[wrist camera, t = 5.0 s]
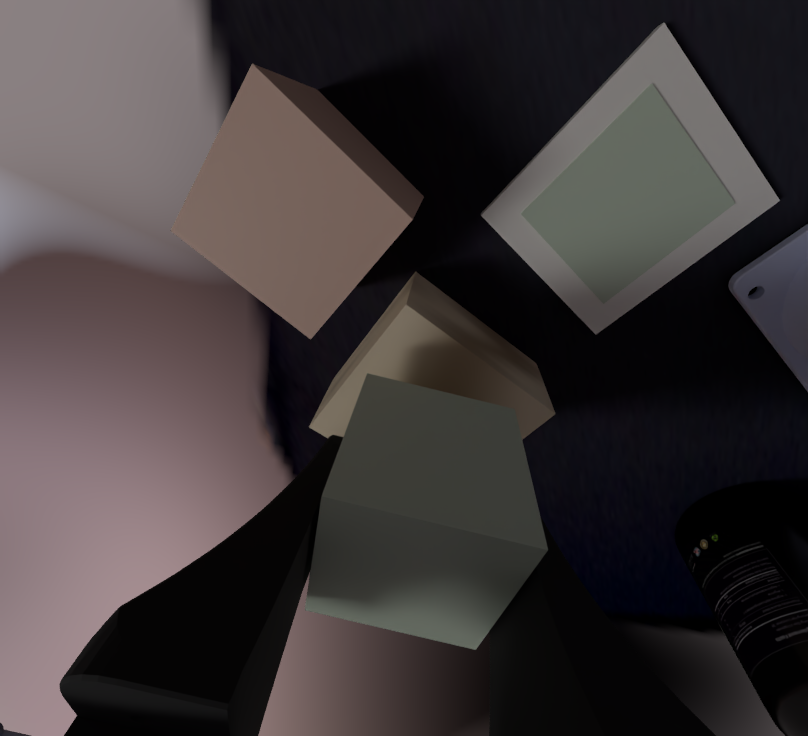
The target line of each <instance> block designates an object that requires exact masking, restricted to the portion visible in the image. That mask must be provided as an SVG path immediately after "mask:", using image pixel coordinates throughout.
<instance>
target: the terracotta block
mask: <svg viewBox="0 0 808 736" xmlns="http://www.w3.org/2000/svg"><path fill="white" fill-rule="evenodd" d="M423 198H424V196H423V195H422V194H421V193H420V192H419V191H418V190H417V189H416V188H415V187H414V186H413V185H412V184H411V183H410V182H409V181H408V180H407V179H406V178H405V177H404V176H403V175H402V174H401V173H400V172H399V171H398V170H397V169H396V168H395V167H394V166H393V165H392V164H391V163H390V162H389V161H388V160H387V159H386V158H385V157H384V156H383V155H382V154H381V153H380V152H379V151H378V150H377V149H376V148H375V147H374V146H373V145H372V144H371V143H370V142H369V141H368V140H367V139H366V138H365V137H364V136H363V135H362V134H361V133H360V132H359V131H358V130H357V129H356V128H355V127H354V126H353V125H352V124H351V123H350V122H349V121H348V120H347V119H346V118H345V117H344V116H343V115H342V114H341V113H340V112H339V111H338V110H337V109H336V108H335V107H334V106H333V105H332V104H331V103H330V102H329V101H328V100H327V99H326V98H325V97H324V96H323V95H322V94H321V93H320V92H319V91H318V90H317V89H314V88H312V87H309V86H307V85H304V84H302V83H299V82H297V81H294V80H292V79H289V78H287V77H284V76H282V75H279V74H277V73H274V72H272V71H269V70H267V69H264V68H262V67H259V66H257V65H254V64H252V65H251V67H250V69H249V71H248V73H247V75H246V77H245V80H244V82H243V84H242V86H241V88H240V90H239V92H238V94H237V96H236V98H235V100H234V102H233V104H232V106H231V108H230V110H229V112H228V114H227V116H226V118H225V120H224V122H223V125H222V127H221V129H220V131H219V133H218V135H217V137H216V139H215V141H214V143H213V145H212V147H211V149H210V151H209V153H208V155H207V157H206V160H205V161H204V163H203V166H202V168H201V170H200V172H199V174H198V176H197V178H196V180H195V182H194V184H193V186H192V188H191V190H190V192H189V194H188V196H187V198H186V200H185V203H184V205H183V207H182V209H181V210H180V212H179V214H178V217H177V219H176V221H175V223H174V225H173V227H172V229H171V232H173V233H174V234H175V235H176V236H178V237H179V238H180V239H182V240H183V241H184V242H185V243H187V244H188V245H189V246H191V247H192V248H193V249H195V250H196V251H197V252H198V253H200V254H201V255H202V256H203V257H205V258H206V259H207V260H209V261H210V262H211V263H213V264H214V265H215V266H216V267H218V268H219V269H220V270H222V271H223V272H224V273H225V274H227V275H229V277H231V278H232V279H233V280H235V281H236V282H237V283H238V284H240V285H241V286H242V287H244V288H245V289H246V290H247V291H249V292H250V293H251V294H253V295H254V296H255V297H257V298H258V299H259V300H260V301H262V302H263V303H264V304H266V305H267V306H268V307H269V308H271V309H272V310H273V311H275V312H276V313H277V314H278V315H280V316H281V317H282V318H284V319H285V320H286V321H288V322H289V323H290V324H291V325H293V326H294V327H295V328H297V329H298V330H299V331H300V332H302V333H303V334H304V335H306V336H307V337H308V338H310V339H311V338H312V337H313V336H314V335H315V334H316V332H317V331H318V330H319V329H320V328H321V326H322V325H323V324H324V323H325V322H326V321H327V319H328V318H329V317H330V316H331V315H332V314H333V312H334V311H335V310H336V309H337V308H338V307H339V305H340V304H341V303H342V302H343V301H344V300H345V298H346V297H347V296H348V295H349V294H350V292H351V291H352V290H353V289H354V288H355V287H356V285H357V284H358V283H359V282H360V281H361V280H362V278H363V277H364V276H365V275H366V274H367V273H368V271H369V270H370V269H371V268H372V267H373V266H374V264H375V263H376V262H377V261H378V260H379V258H380V257H381V256H382V255H383V254H384V253H385V251H386V250H387V249H388V248H389V247H390V246H391V244H392V243H393V242H394V241H395V240H396V239H397V237H398V236H399V235H400V234H401V233H402V232H403V230H404V229H405V228H406V227H407V226H408V224H409V223H410V222H411V221H412V220H413V218H414V216H415V214H416V212H417V210H418V208H419V206H420V204H421V202H422V200H423Z"/></svg>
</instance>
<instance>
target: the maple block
mask: <svg viewBox="0 0 808 736" xmlns="http://www.w3.org/2000/svg"><path fill="white" fill-rule="evenodd" d="M367 373H369V374H373V375H377V376H381V377H385V378H389V379H393V380H397V381H402V382H406V383H410V384H414V385H418V386H422V387H426V388H430V389H434V390H438V391H443V392H447V393H451V394H455V395H459V396H463V397H467V398H471V399H475V400H480V401H484V402H488V403H492V404H496V405H500V406H504V407H508V408H512V409H515V412H516V416H517V421H518V425H519V429H520V433H521V437H522V439H524V438H525V437H526V436H528V435H529V434H530V433H531V432H533V431H534V430H535V429H537V428H538V427H539V426H541V425H542V424H543V423H544V422H546V421H547V420H548V419H550V418H551V417H552V416H553V415H555V411H554V408H553V406H552V403H551V400H550V398H549V395H548V393H547V390H546V387H545V385H544V382H543V379H542V377H541V374H540V372H539V369H538V366H537V364H536V363H535V362H534V361H533V360H531V359H530V358H529V357H527V356H526V355H525V354H523V353H522V352H521V351H519V350H518V349H517V348H516V347H514V346H513V345H512V344H510V343H509V342H508V341H506V340H505V339H504V338H502V337H501V336H500V335H498V334H497V333H496V332H495V331H493V330H492V329H491V328H489V327H488V326H487V325H485V324H484V323H483V322H481V321H480V320H479V319H477V318H476V317H475V316H474V315H472V314H471V313H470V312H468V311H467V310H466V309H464V308H463V307H462V306H460V305H459V304H458V303H456V302H455V301H454V300H453V299H451V298H450V297H449V296H447V295H446V294H445V293H443V292H442V291H441V290H439V289H438V288H437V287H435V286H434V285H433V284H432V283H430V282H429V281H428V280H426V279H425V278H424V277H422V276H421V275H420V274H418V273H417V272H415V273H414V274H413V276H412V277H411V278H410V279H409V281H408V282H407V283H406V285H405V286H404V287H403V289H402V290H401V291H400V293H399V294H398V295H397V296H396V298H395V299H394V300H393V302H392V303H391V304H390V306H389V307H388V308H387V310H386V311H385V312H384V313H383V315H382V316H381V317H380V319H379V320H378V321H377V323H376V324H375V325H374V327H373V328H372V329H371V330H370V332H369V333H368V334H367V336H366V337H365V338H364V340H363V341H362V342H361V344H360V345H359V346H358V347H357V349H356V350H355V351H354V353H353V354H352V355H351V357H350V358H349V359H348V361H347V362H346V363H345V364H344V366H343V367H342V368H341V370H340V371H339V372H338V374H337V375H336V376H335V378H334V379H333V381H332V383H331V385H330V387H329V389H328V391H327V393H326V395H325V397H324V398H323V400H322V402H321V404H320V406H319V408H318V410H317V412H316V414H315V416H314V418H313V420H312V422H311V424H310V426H309V427H310V428H312V429H313V430H315V431H317V432H318V433H320V434H322V435H323V436H325V437H327V438H329V436H331V435H337V436H341V437H344V434H345V432H346V429H347V426H348V423H349V421H350V418H351V415H352V413H353V410H354V407H355V405H356V402H357V399H358V396H359V394H360V391H361V388H362V386H363V383H364V380H365V378H366V375H367Z"/></svg>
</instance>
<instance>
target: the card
mask: <svg viewBox="0 0 808 736" xmlns="http://www.w3.org/2000/svg"><path fill="white" fill-rule="evenodd" d="M779 201H780V200H779V198H778V197H777V195H776V194H775V192H774V191H773V189H772V188H771V186H770V184H769V183H768V181H767V180H766V178H765V177H764V175H763V174H762V172H761V171H760V169H759V168H758V166H757V164H756V163H755V161H754V160H753V158H752V157H751V155H750V154H749V152H748V151H747V149H746V148H745V146H744V145H743V143H742V141H741V140H740V138H739V137H738V135H737V134H736V132H735V131H734V129H733V128H732V126H731V125H730V123H729V121H728V120H727V118H726V117H725V115H724V114H723V112H722V111H721V109H720V108H719V106H718V105H717V103H716V101H715V100H714V98H713V97H712V95H711V94H710V92H709V91H708V89H707V88H706V86H705V85H704V83H703V81H702V80H701V78H700V77H699V75H698V74H697V72H696V71H695V69H694V68H693V66H692V65H691V63H690V61H689V60H688V58H687V57H686V55H685V54H684V52H683V51H682V49H681V48H680V46H679V45H678V43H677V41H676V40H675V38H674V37H673V35H672V34H671V32H670V31H669V29H668V28H667V26H666V25H665V23H662V24H661V25H659V26H657V27H656V28H655V30H654V31H653V32H652V33H651V34H650V35H649V36H648V37H647V38H646V39H645V40H644V41H643V42H642V43H641V44H640V45H639V46H638V48H637V49H636V50H635V51H634V52H633V53H632V54H631V55H630V56H629V57H628V58H627V59H626V60H625V61H624V62H623V63H622V64H621V66H620V67H619V68H618V69H617V70H616V71H615V72H614V73H613V74H612V75H611V76H610V77H609V78H608V79H607V80H606V81H605V82H604V84H603V85H602V86H601V87H600V88H599V89H598V90H597V91H596V92H595V93H594V94H593V95H592V96H591V97H590V98H589V99H588V100H587V102H586V103H585V104H584V105H583V106H582V107H581V108H580V109H579V110H578V111H577V112H576V113H575V114H574V115H573V116H572V117H571V118H570V120H569V121H568V122H567V123H566V124H565V125H564V126H563V127H562V128H561V129H560V130H559V131H558V132H557V133H556V134H555V135H554V136H553V138H552V139H551V140H550V141H549V142H548V143H547V144H546V145H545V146H544V147H543V148H542V149H541V150H540V151H539V152H538V153H537V154H536V156H535V157H534V158H533V159H532V160H531V161H530V162H529V163H528V164H527V165H526V166H525V167H524V168H523V169H522V170H521V171H520V173H519V174H518V175H517V176H516V177H515V178H514V179H513V180H512V181H511V182H510V183H509V184H508V185H507V186H506V187H505V188H504V189H503V191H502V192H501V193H500V194H499V195H498V196H497V197H496V198H495V199H494V200H493V201H492V202H491V203H490V204H489V205H488V206H487V207H486V209H485V210H484V211H483V212H482V213H481V216H482V217H483V218H484V219H485V220H486V221H487V222H488V223H489V224H490V225H491V226H492V227H493V228H494V229H495V231H496V232H497V233H498V234H499V235H500V236H501V237H502V238H503V239H504V240H505V241H506V242H507V243H508V244H509V245H510V246H511V247H512V248H513V249H514V250H515V251H516V252H517V253H518V254H519V255H520V257H521V258H522V259H523V260H524V261H525V262H526V263H527V264H528V265H529V266H530V267H531V268H532V269H533V270H534V271H535V272H536V273H537V274H538V275H539V276H540V277H541V278H542V279H543V280H544V281H545V283H546V284H547V285H548V286H549V287H550V288H551V289H552V290H553V291H554V292H555V293H556V294H557V295H558V296H559V297H560V298H561V299H562V300H563V301H564V302H565V303H566V304H567V305H568V306H569V307H570V308H571V310H572V311H573V312H574V313H575V314H576V315H577V316H578V317H579V318H580V319H581V320H582V321H583V322H584V323H585V324H586V325H587V326H588V327H589V328H590V329H591V330H592V331H593V332H594V333H595V334H597V333H599V332H600V331H602V330H603V329H604V328H606V327H607V326H608V325H610V324H611V323H613V322H614V321H615V320H617V319H618V318H619V317H621V316H622V315H624V314H625V313H626V312H628V311H629V310H630V309H632V308H633V307H635V306H636V305H637V304H639V303H640V302H641V301H643V300H644V299H646V298H647V297H648V296H650V295H651V294H652V293H654V292H655V291H657V290H658V289H659V288H661V287H662V286H663V285H665V284H666V283H668V282H669V281H670V280H672V279H673V278H674V277H676V276H677V275H679V274H680V273H681V272H683V271H684V270H685V269H687V268H688V267H690V266H691V265H692V264H694V263H695V262H696V261H698V260H699V259H700V258H702V257H703V256H705V255H706V254H707V253H709V252H710V251H711V250H713V249H714V248H716V247H717V246H718V245H720V244H721V243H722V242H724V241H725V240H727V239H728V238H729V237H731V236H732V235H733V234H735V233H736V232H738V231H739V230H740V229H742V228H743V227H744V226H746V225H747V224H749V223H750V222H751V221H753V220H754V219H755V218H757V217H758V216H760V215H761V214H762V213H764V212H765V211H766V210H768V209H769V208H771V207H772V206H773V205H775V204H776V203H777V202H779Z"/></svg>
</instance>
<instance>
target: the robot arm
mask: <svg viewBox="0 0 808 736" xmlns="http://www.w3.org/2000/svg"><path fill="white" fill-rule="evenodd" d="M728 287H729V290H730V291H731V293H732V294H733V295H734V297H735V298H736V299H737V301H738V302H739V303H740V304H741V306H742V307H743V308H744V310H745V311H746V312H747V314H748V315H749V316H750V317H751V319H752V320H753V321H754V323H755V324H756V325H757V327H758V328H759V329H760V330H761V332H762V333H763V334H764V336H765V337H766V338H767V340H768V341H769V342H770V343H771V345H772V346H773V347H774V349H775V350H776V351H777V353H778V354H779V355H780V356H781V358H782V359H783V360H784V362H785V363H786V364H787V366H788V367H789V368H790V369H791V371H792V372H793V373H794V375H795V376H796V377H797V379H798V380H799V381H800V382H801V384H802V385H803V386H804V388H805V389H806V390H807V392H808V224H807V225H805V226H804V227H802V228H801V229H799V230H798V231H797V232H795V233H794V234H792V235H791V236H789V237H788V238H786V239H785V240H783V241H782V242H780V243H779V244H777V245H776V246H775V247H773V248H772V249H770V250H769V251H767V252H766V253H764V254H763V255H761V256H760V257H758V258H757V259H755V260H754V261H753V262H751V263H750V264H748V265H747V266H745V267H744V268H742V269H741V270H739V271H738V272H737V273H735V274H734V275H733V276H732V277H731V279H730V281H729V284H728ZM755 287H757V290H756V291H755V292H754V293H753V294H752V295H749V296H748V294H749V291H750V290H751V289H753V288H755ZM342 440H343V437H341V436H337V435H331V436H329V438H328V439H327V441H326V442H325V444H324V445H323V446H322V448H321V449H320V450H319V451H318V453H317V454H316V455H315V456H314V458H313V459H312V460H311V461H310V462H309V463H308V465H307V466H306V467H305V468H304V469H303V470H302V471H301V472H300V473H299V474H298V475H297V477H296V478H295V479H294V480H293V481H292V482H291V483H290V484H289V485H288V486H287V487H286V488H285V489H284V490H283V491H282V492H281V493H280V494H279V495H278V496H277V497H275V498H274V499H273V500H272V501H271V502H270V503H269V504H268V505H267V506H266V507H265V508H264V509H262V510H261V511H260V512H259V513H258V514H257V515H255V516H254V517H253V518H252V519H251V520H249V521H248V522H247V523H246V524H245V525H243V526H242V527H241V528H239V529H238V530H237V531H236V532H234V533H233V534H232V535H231V536H229V537H228V538H227V539H225V540H224V541H223V542H221V543H220V544H218V545H217V546H216V547H215V548H213V549H212V550H210V551H209V552H207V553H206V554H204V555H203V556H201V557H200V558H198V559H197V560H195V561H194V562H192V563H191V564H190V565H188V566H186V567H185V568H183V569H182V570H180V571H179V572H177V573H176V574H174V575H172V576H171V577H169V578H168V579H166V580H164V581H163V582H161V583H159V584H158V585H156V586H154V587H153V588H151V589H149V590H148V591H146V592H144V593H142V594H141V595H139V596H137V597H136V598H134V599H132V600H130V601H129V602H127V603H125V604H124V605H122V606H120V607H119V608H118V609H117V610H116V611H115V613H114V614H113V615H112V616H111V617H110V618H109V619H108V620H107V621H106V622H105V623H104V625H103V626H102V627H101V628H100V629H99V631H98V632H97V633H96V634H95V635H94V636H93V637H92V638H91V640H90V641H89V642H88V644H87V645H86V646H85V648H84V649H83V651H82V652H81V653H80V655H79V656H78V657H77V659H76V660H75V662H74V663H73V665H72V666H71V667H70V669H69V670H68V671H67V673H66V674H65V675H64V677H63V678H62V680H61V682H60V691H61V693H62V696H63V697H64V698H65V700H66V701H67V702H68V704H69V705H70V706H71V708H72V709H73V710H74V712H75V713H76V714H77V717H76V718H75V720H74V721H73V723H72V724H71V726H70V727H69V729H68V730H67V732H66V733H65V735H64V736H258V734H259V731H260V727H261V724H262V720H263V717H264V713H265V711H266V707H267V703H268V700H269V697H270V694H271V691H272V687H273V684H274V681H275V678H276V674H277V671H278V668H279V664H280V661H281V658H282V655H283V651H284V648H285V645H286V642H287V638H288V635H289V632H290V629H291V626H292V622H293V619H294V616H295V613H296V610H297V606H298V603H299V600H300V597H301V594H302V591H303V588H304V585H305V583H306V580H307V577H308V575H309V572H310V570H311V564H312V558H313V551H314V544H315V537H316V530H317V524H318V517H319V510H320V503H321V496H322V494H323V491H324V488H325V486H326V483H327V480H328V477H329V475H330V472H331V469H332V467H333V464H334V461H335V459H336V456H337V453H338V450H339V448H340V445H341V442H342ZM540 518H541V516H540ZM541 522H542V526H543V530H544V535H545V539H546V543H547V547H548V551H547V552H546V554H545V555H544V556H543V558H542V559H541V561H540V562H539V563H538V565H537V566H536V567H535V569H534V570H533V572H532V573H531V574H530V576H529V577H528V578H527V580H526V581H525V583H524V584H523V585H522V587H521V588H520V589H519V591H518V592H517V594H516V595H515V596H514V598H513V599H512V600H511V602H510V603H509V605H508V606H507V607H506V609H505V610H504V611H503V613H502V614H501V616H500V617H499V618H498V620H497V621H496V622H495V624H494V625H493V627H492V628H491V629H490V732H489V736H716V735H715V734H714V733H713V732H712V731H711V730H710V729H708V728H707V726H705V725H704V723H702V722H701V720H700V719H699V718H698V717H696V716H695V715H694V714H693V713H692V712H691V711H690V710H689V709H688V708H687V707H686V706H685V705H684V704H683V703H682V702H681V701H680V700H679V699H678V697H676V695H675V694H674V693H673V692H672V691H671V690H670V689H669V688H668V687H667V686H666V685H665V684H664V682H662V681H661V679H660V678H659V677H658V676H657V675H656V674H655V673H654V672H653V671H652V670H651V668H650V667H649V666H648V665H647V664H646V663H645V662H644V661H643V659H642V658H641V657H640V656H639V655H638V654H637V653H636V652H635V650H634V649H633V648H632V647H631V646H630V644H629V643H628V642H627V641H626V640H625V638H624V637H623V636H622V635H621V634H620V632H619V631H618V630H617V629H616V628H615V626H614V625H613V624H612V623H611V621H610V620H609V619H608V618H607V616H606V615H605V614H604V612H603V611H602V610H601V608H600V607H599V606H598V604H597V603H596V602H595V600H594V599H593V598H592V596H591V595H590V594H589V592H588V591H587V590H586V588H585V587H584V585H583V584H582V583H581V581H580V580H579V578H578V577H577V575H576V574H575V572H574V571H573V569H572V568H571V566H570V565H569V563H568V562H567V560H566V559H565V557H564V555H563V554H562V552H561V551H560V549H559V547H558V546H557V544H556V542H555V541H554V539H553V537H552V535H551V534H550V532H549V530H548V529H547V527H546V525H545V524H544V522H543V520H542V518H541ZM0 736H30V735H26V734H21V733H17V732H12V731H8V730H4V729H3V725H2V724H1V723H0Z"/></svg>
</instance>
